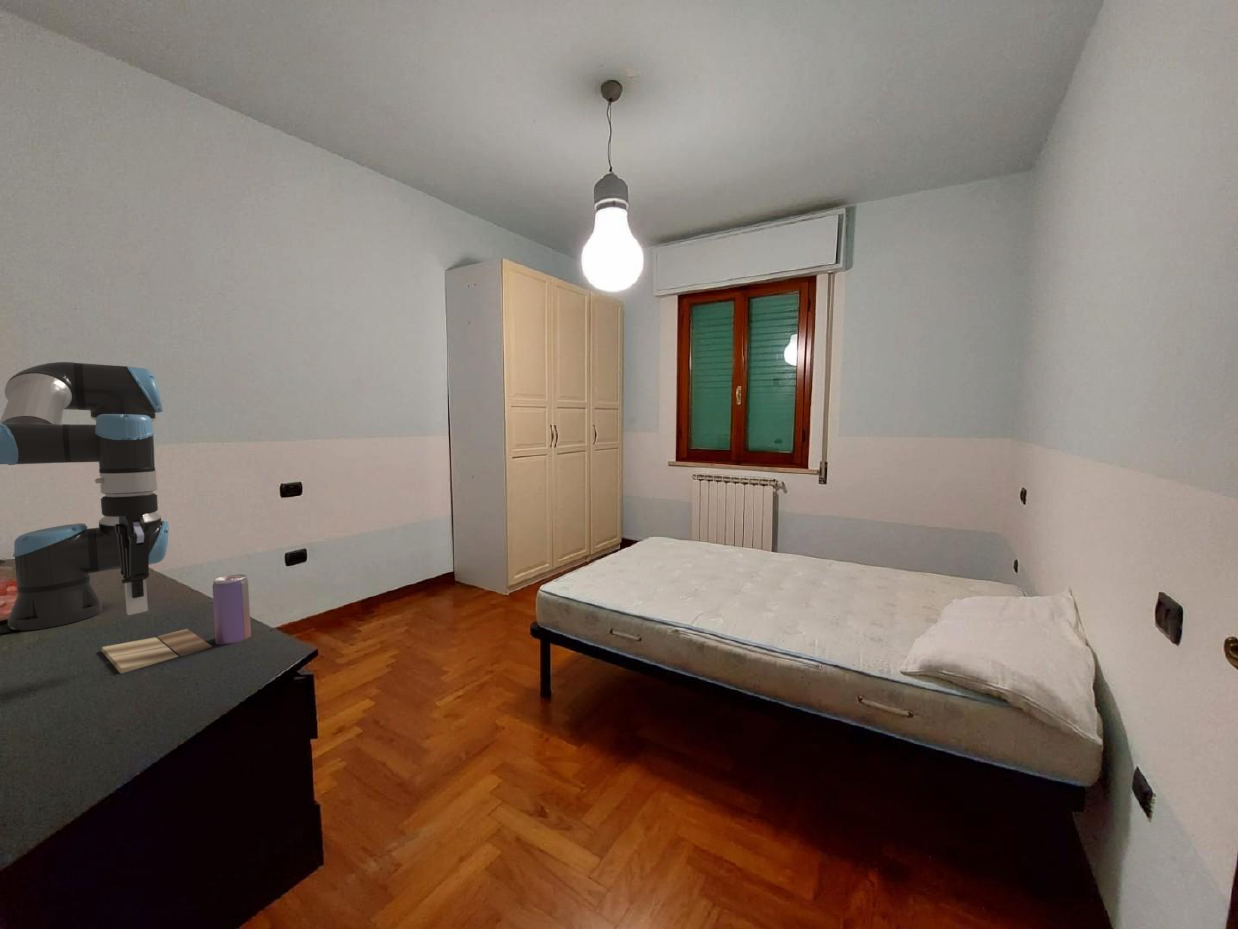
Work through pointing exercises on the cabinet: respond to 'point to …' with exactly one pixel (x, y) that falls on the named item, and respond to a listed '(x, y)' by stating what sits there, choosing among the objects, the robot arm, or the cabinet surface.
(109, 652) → the oak plank
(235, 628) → the beverage can
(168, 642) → the laid board
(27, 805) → the cabinet surface
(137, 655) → the oak plank
